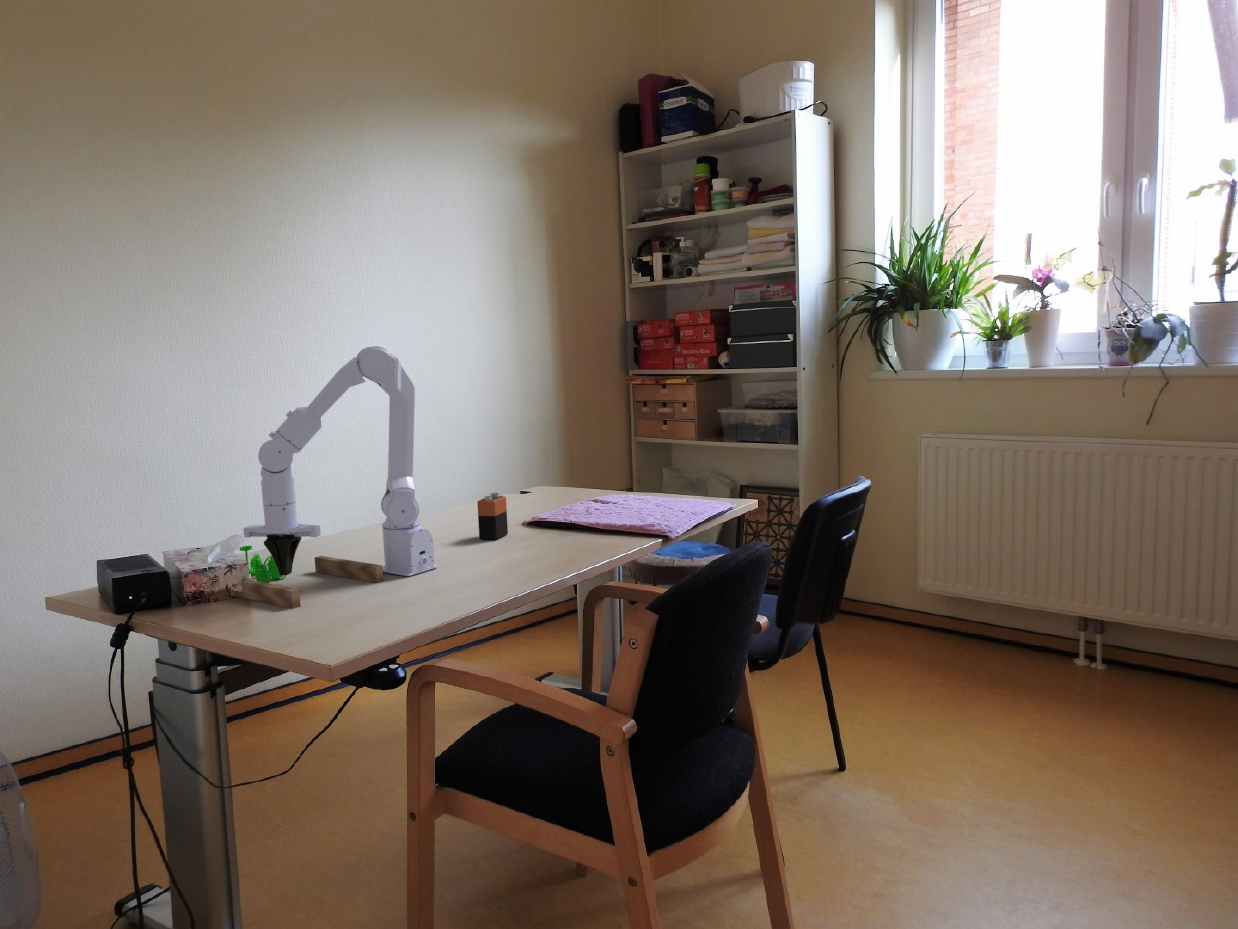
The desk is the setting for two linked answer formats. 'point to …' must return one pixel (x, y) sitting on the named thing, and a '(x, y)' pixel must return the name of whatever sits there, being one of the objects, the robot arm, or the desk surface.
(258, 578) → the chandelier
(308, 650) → the desk surface
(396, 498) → the robot arm
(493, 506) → the battery
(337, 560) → the pair of wooden bars
